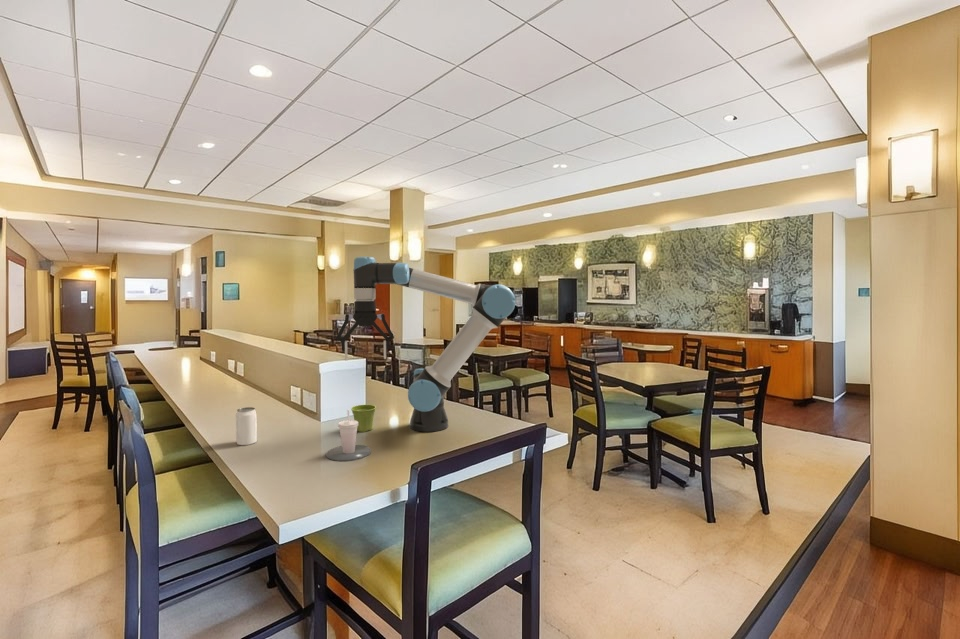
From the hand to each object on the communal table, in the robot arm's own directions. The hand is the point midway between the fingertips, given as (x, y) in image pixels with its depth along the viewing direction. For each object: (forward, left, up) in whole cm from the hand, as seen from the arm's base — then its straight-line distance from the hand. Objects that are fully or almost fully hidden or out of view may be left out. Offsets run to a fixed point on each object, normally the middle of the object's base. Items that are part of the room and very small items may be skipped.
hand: (365, 359), depth 167 cm
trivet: (+6, +16, -29) cm, 33 cm away
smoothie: (+6, +16, -28) cm, 33 cm away
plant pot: (+1, -10, -29) cm, 31 cm away
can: (+41, -4, -29) cm, 50 cm away
